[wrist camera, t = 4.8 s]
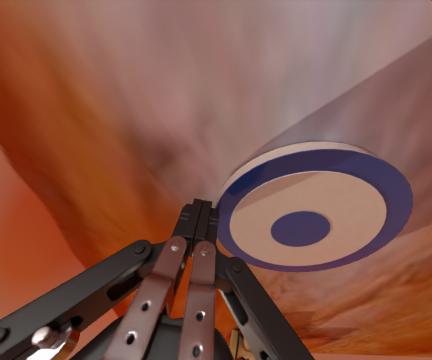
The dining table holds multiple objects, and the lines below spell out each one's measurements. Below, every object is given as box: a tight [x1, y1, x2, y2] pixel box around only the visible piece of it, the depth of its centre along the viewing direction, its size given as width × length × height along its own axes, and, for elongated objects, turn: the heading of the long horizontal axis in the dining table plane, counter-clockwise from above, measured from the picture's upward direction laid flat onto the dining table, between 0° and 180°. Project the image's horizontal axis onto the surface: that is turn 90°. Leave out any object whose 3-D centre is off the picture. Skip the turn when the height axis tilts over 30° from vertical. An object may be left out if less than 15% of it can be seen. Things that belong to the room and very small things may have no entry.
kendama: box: [230, 330, 256, 360], centre depth 33 cm, size 8×6×18 cm
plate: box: [215, 142, 413, 272], centre depth 13 cm, size 14×14×1 cm
